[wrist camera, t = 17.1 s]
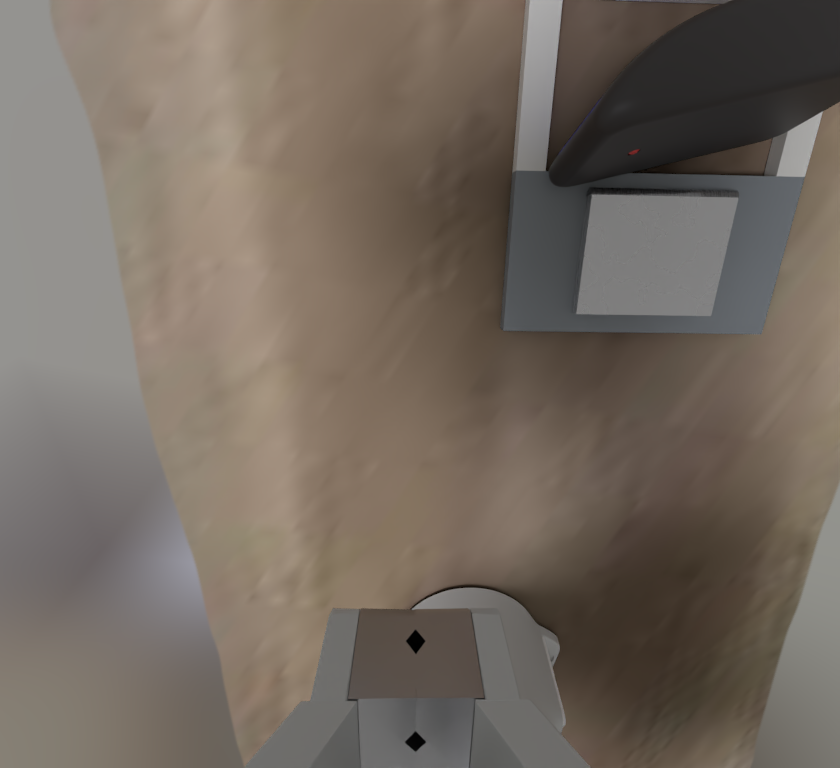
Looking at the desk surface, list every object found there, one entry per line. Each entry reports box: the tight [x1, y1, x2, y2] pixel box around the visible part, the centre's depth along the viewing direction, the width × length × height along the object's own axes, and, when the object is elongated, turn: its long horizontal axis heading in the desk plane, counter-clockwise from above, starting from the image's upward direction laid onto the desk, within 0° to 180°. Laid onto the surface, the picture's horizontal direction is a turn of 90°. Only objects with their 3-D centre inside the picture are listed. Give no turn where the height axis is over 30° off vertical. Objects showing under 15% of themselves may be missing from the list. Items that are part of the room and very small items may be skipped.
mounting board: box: [500, 0, 823, 334], centre depth 30 cm, size 22×20×1 cm
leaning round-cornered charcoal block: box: [549, 0, 840, 187], centre depth 24 cm, size 16×5×10 cm, turn 103°
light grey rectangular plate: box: [571, 187, 739, 316], centre depth 30 cm, size 8×10×1 cm
